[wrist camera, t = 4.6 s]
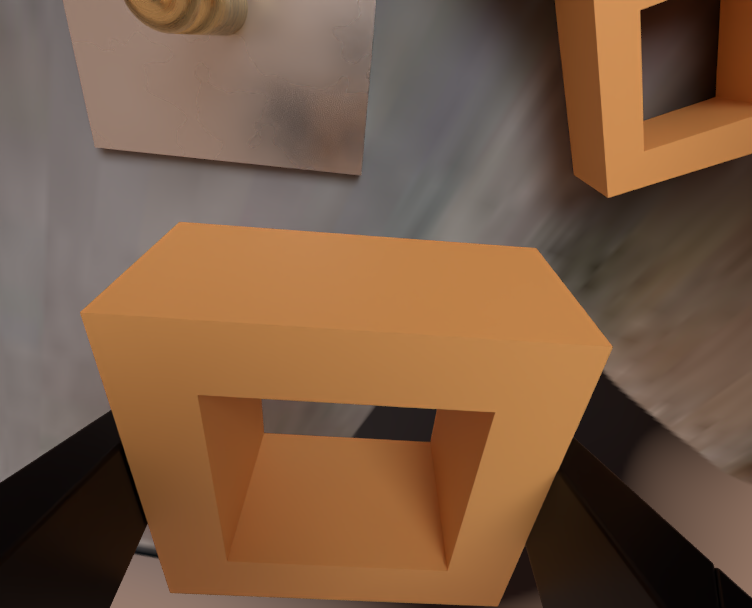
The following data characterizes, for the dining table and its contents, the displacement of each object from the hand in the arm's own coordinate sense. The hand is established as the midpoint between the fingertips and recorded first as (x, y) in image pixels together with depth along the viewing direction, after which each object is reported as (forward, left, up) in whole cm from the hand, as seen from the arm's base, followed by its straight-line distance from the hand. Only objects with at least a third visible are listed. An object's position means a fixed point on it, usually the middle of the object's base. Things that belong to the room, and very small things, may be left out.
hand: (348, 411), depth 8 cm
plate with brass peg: (+5, -7, -12) cm, 14 cm away
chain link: (-10, -7, -12) cm, 16 cm away
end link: (0, 0, -1) cm, 1 cm away
